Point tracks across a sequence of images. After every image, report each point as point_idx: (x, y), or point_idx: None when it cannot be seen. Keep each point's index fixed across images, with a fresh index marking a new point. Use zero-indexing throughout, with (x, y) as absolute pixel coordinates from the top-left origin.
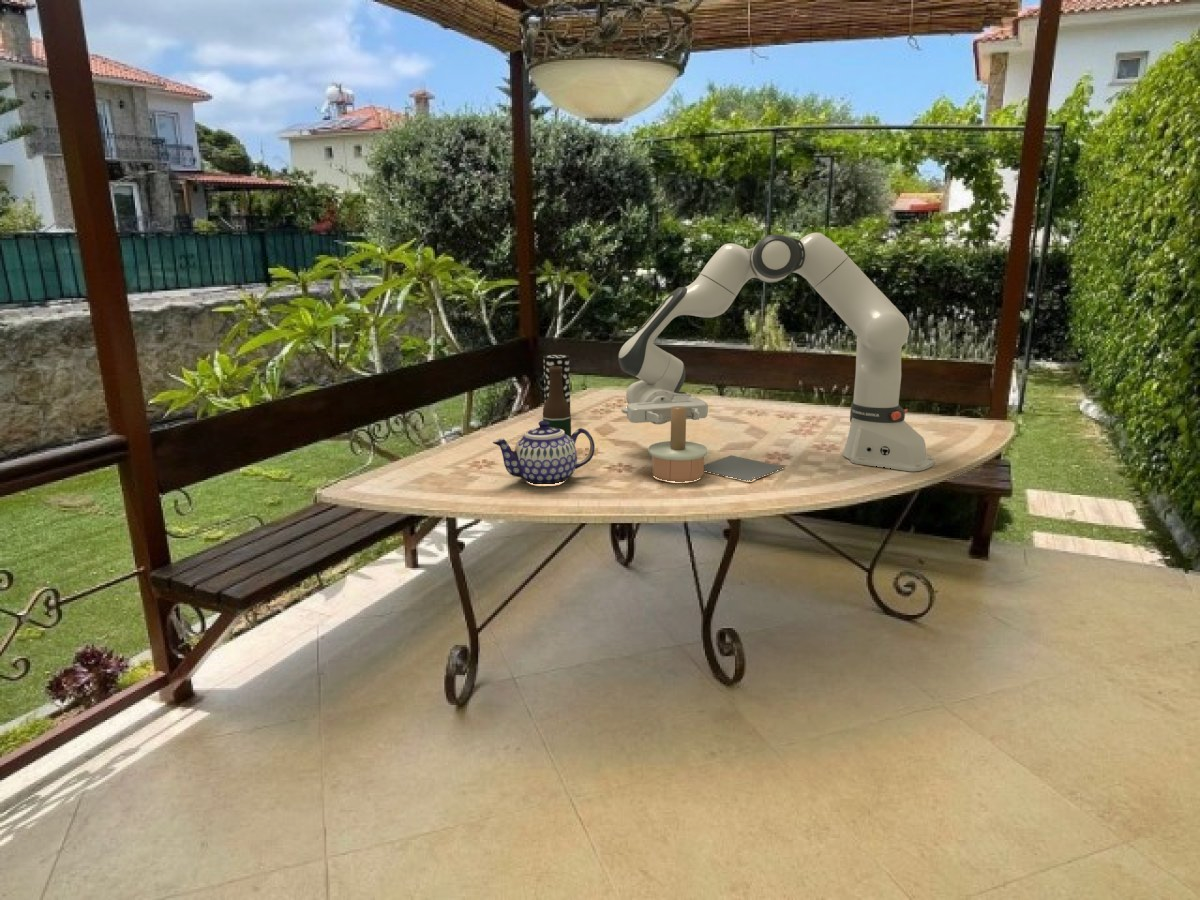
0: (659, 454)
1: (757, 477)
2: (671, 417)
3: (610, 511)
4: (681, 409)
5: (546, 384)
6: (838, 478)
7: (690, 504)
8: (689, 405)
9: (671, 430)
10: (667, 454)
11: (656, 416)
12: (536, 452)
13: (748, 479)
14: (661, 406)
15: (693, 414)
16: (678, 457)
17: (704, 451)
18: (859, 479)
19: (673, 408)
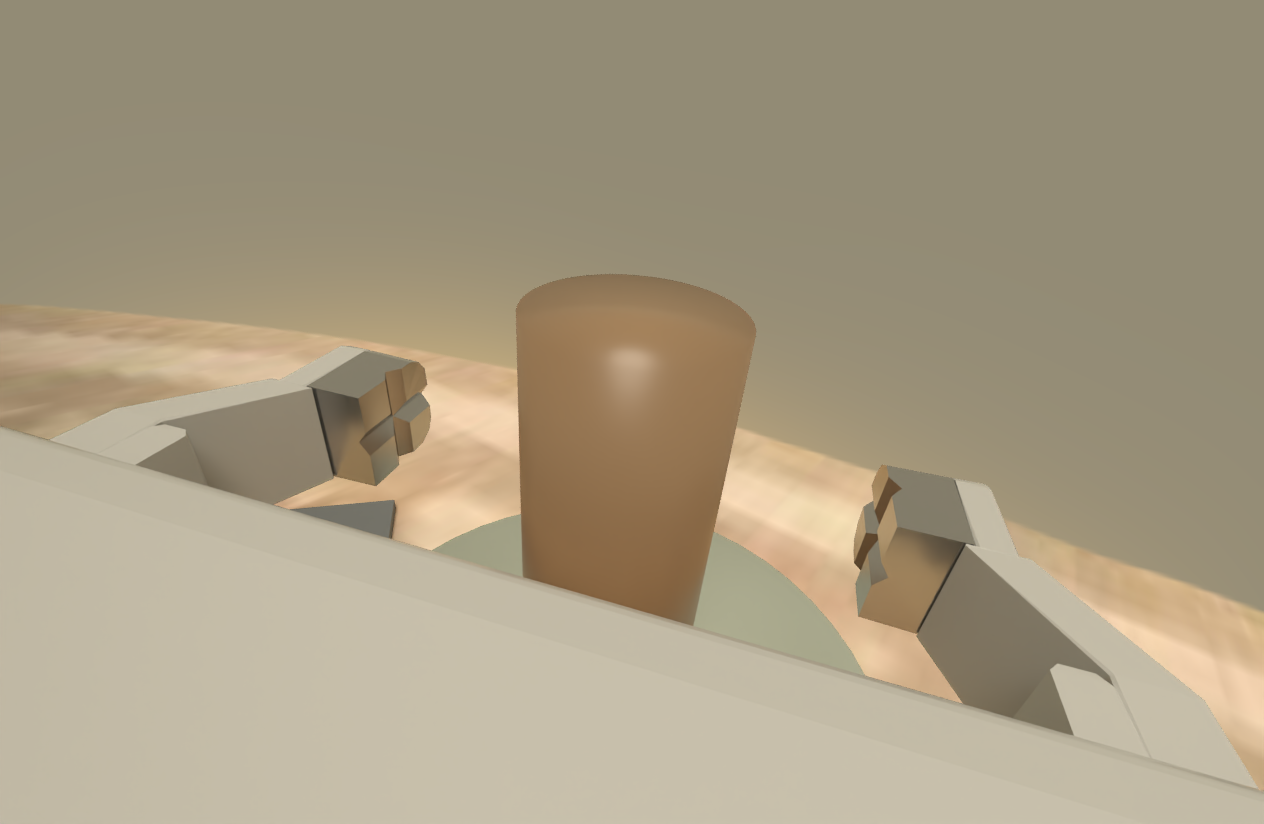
0: (851, 652)
1: (308, 511)
2: (727, 461)
3: (1141, 582)
4: (665, 282)
5: None
6: (112, 391)
7: (785, 486)
8: (78, 451)
9: (701, 585)
10: (790, 610)
11: (984, 500)
12: None
13: (370, 514)
14: (749, 694)
15: (415, 380)
16: (735, 548)
17: (502, 525)
18: (95, 363)
19: (737, 323)
